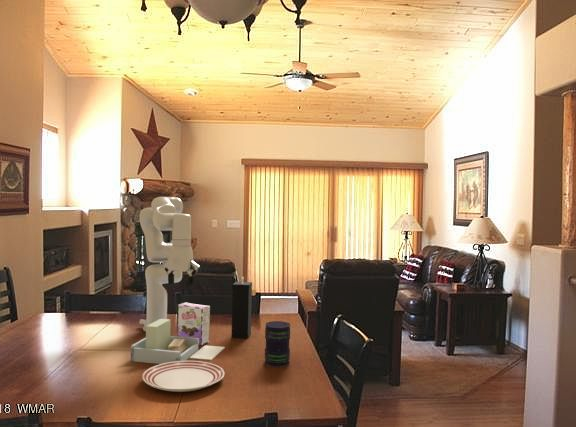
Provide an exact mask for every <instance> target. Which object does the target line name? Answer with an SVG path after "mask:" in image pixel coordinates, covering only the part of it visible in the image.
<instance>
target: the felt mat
mask: <svg viewBox="0 0 576 427" xmlns="http://www.w3.org/2000/svg"><path fill="white" fill-rule="evenodd" d="M224 349H225V346H216V345H207V344H206V345H205V344H204V346H203V345H202V347H201V348H199V350H198V351H197V352H196V353H195V354H193V355H192V356H191V357H190V358H189V359H192V360H203V361H212V360H214V359H215V358H216V357H217V356H218V355H219V354H220V353H221V352H222V351H223V350H224Z"/></svg>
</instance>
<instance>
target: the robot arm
mask: <svg viewBox="0 0 576 427" xmlns="http://www.w3.org/2000/svg"><path fill="white" fill-rule="evenodd" d="M150 205H151V207H150V206H149V207H145V208H143V209H141V210H140V213H139V223H140V228H141V230H142V232H143V234H144V240H145V250H146V258H147V261H148V262H151V263H156V264H151V265H149V266H147V267H146V268H145V271H144V272H145V273H144V275H145V276H144V277H145V283H146V319H142V318H141V319H139V325H143V327H142V330H143V332H146V326H147V325H149V324H151V323H153V322H155V321H157V320H159V319H168V292H167V289H166V288H165V287H164V286H163V284H164V285H165V284H168V285H173V284H176V283H179V282H181V281H182V279H183V272H184V273H185V272H186V273H187V274H188V276H187V286H188V287H191V286H194V285H195V284H194V283H195V276H196V274H197V273H198V272H199V269H200V268H201V267H200V265H199V264H198V263H196V262H195V261H194V250H193V247H192V243H191V242H192V234H191V233H192V218H191V217H192V216H191V215H190V214H188V213H183V209H184V204H183V201H182V200H181V198H179V197H176V196H157V197H155V198H154V199H152V201H151V204H150ZM163 231H164V232H165V231H167V232H169V231H172V232H171V233H172V235H171V237H172V239H171V240H170V242H164V235H163V233H162V232H163ZM157 263H158V264H157Z"/></svg>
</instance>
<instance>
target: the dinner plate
mask: <svg viewBox="0 0 576 427" xmlns="http://www.w3.org/2000/svg"><path fill="white" fill-rule="evenodd" d="M224 376H225V371H224V368H222V367H221V366H219V365H218V364H214V363H211V362H208V361H200V360H186V361H174V362H168V363H163V364H156V365H154V366H151V367H149V368H148V369H146V370H145V371H144V372H143V373H142V376H141V379H142V381H143V382H144V383H145V384H147V385H148V386H149V387H151V388H154V389H158V390H161V391H166V392H172V393H185V392H188V393H189V392H195V391H199V390H201V389H205V388H208V387H210V386H212V385H214V384H217V383H218V382H220V381H221V380H222V379H224Z"/></svg>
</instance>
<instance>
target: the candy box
mask: <svg viewBox="0 0 576 427" xmlns="http://www.w3.org/2000/svg"><path fill="white" fill-rule="evenodd" d="M210 313H211V306H210V305H204V304H196V303H190V302H187V301H185V302H181V303H180V304H177V336H178V337H190V338H199V346H203V345H204V346H205V344H206V345H207V344H209V343H210V321H211V320H210V316H211V315H210Z"/></svg>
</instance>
